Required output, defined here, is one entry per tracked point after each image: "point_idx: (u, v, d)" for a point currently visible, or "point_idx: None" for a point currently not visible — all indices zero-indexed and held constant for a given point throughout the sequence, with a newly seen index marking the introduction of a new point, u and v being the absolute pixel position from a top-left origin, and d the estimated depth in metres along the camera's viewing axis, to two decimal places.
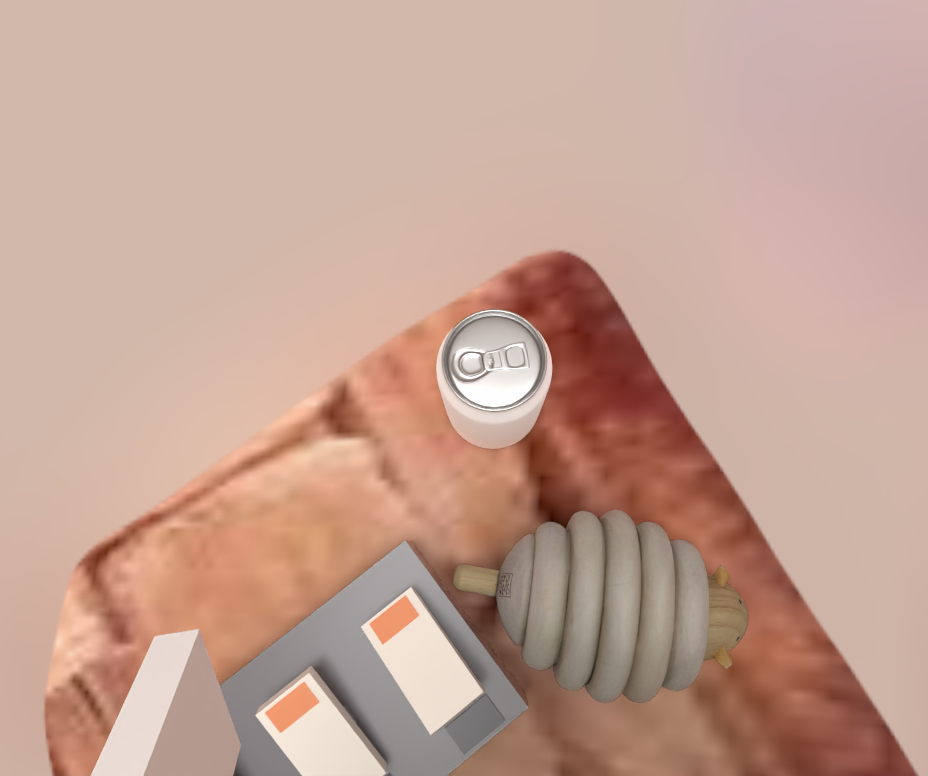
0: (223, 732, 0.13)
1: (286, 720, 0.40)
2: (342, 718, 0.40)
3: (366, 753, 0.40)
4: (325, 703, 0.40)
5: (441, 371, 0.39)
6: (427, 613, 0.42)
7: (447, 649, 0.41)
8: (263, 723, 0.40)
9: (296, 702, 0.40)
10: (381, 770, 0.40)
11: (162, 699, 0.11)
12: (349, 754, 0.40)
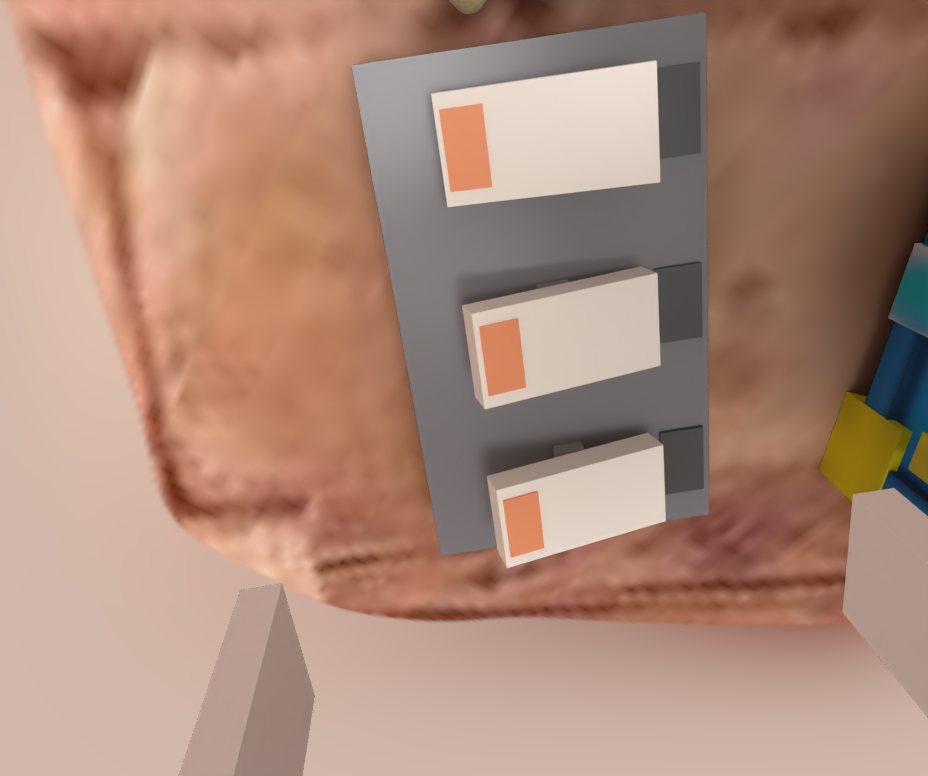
0: (303, 681, 0.13)
1: (515, 372, 0.26)
2: (557, 296, 0.25)
3: (618, 286, 0.26)
4: (524, 311, 0.25)
5: None
6: (486, 87, 0.23)
7: (559, 85, 0.23)
8: (500, 403, 0.26)
9: (500, 349, 0.25)
10: (650, 277, 0.26)
11: (257, 644, 0.12)
12: (605, 310, 0.26)
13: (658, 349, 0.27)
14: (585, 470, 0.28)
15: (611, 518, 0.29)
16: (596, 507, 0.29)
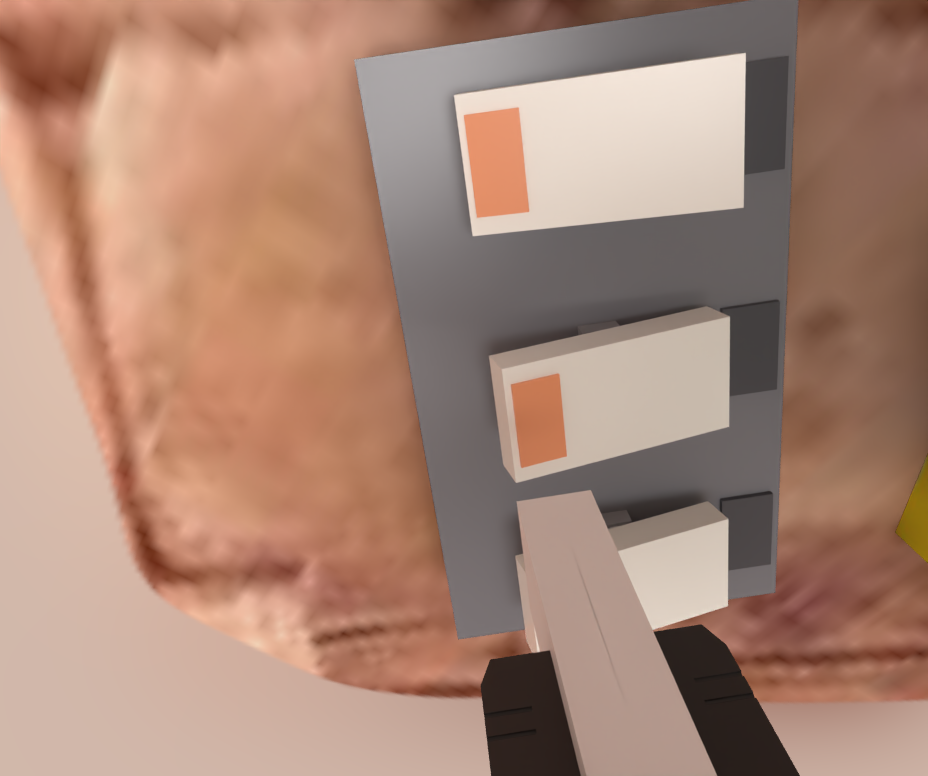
0: None
1: (554, 439, 0.21)
2: (607, 346, 0.20)
3: (682, 332, 0.21)
4: (567, 365, 0.20)
5: None
6: (524, 87, 0.18)
7: (618, 84, 0.18)
8: (535, 475, 0.21)
9: (536, 411, 0.20)
10: (721, 322, 0.21)
11: (560, 540, 0.13)
12: (665, 362, 0.21)
13: (727, 407, 0.22)
14: (635, 551, 0.23)
15: (664, 605, 0.24)
16: (647, 592, 0.24)
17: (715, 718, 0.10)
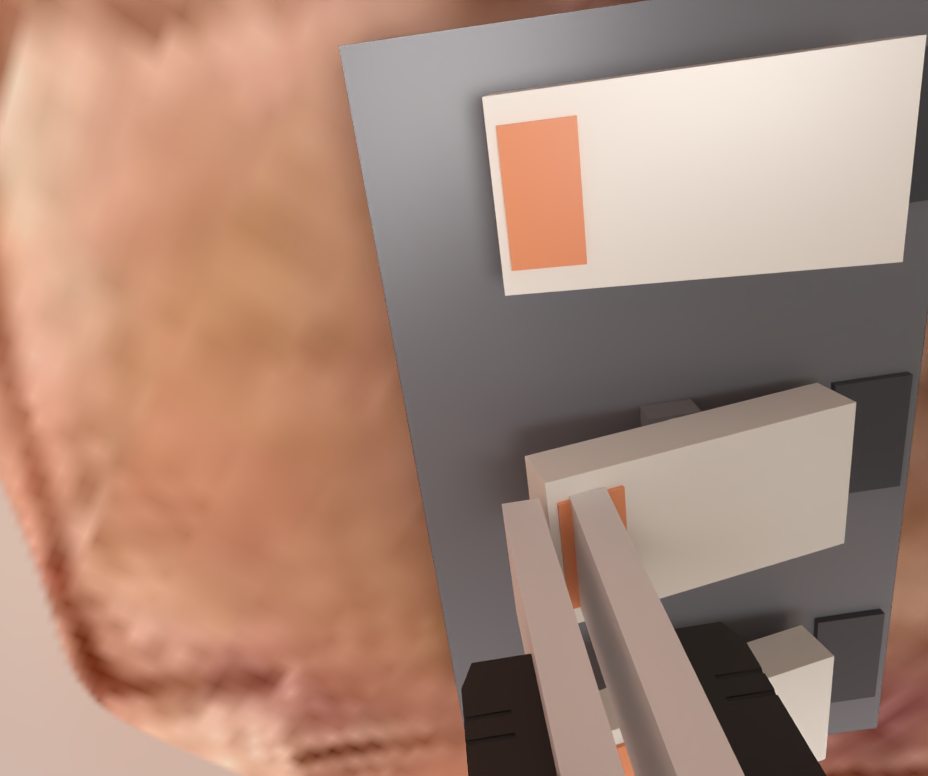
0: None
1: None
2: (690, 448, 0.15)
3: (792, 426, 0.15)
4: (635, 474, 0.15)
5: None
6: (586, 86, 0.12)
7: (727, 81, 0.12)
8: None
9: None
10: (843, 410, 0.15)
11: (543, 542, 0.13)
12: (766, 465, 0.15)
13: (843, 519, 0.17)
14: None
15: None
16: None
17: (738, 714, 0.10)
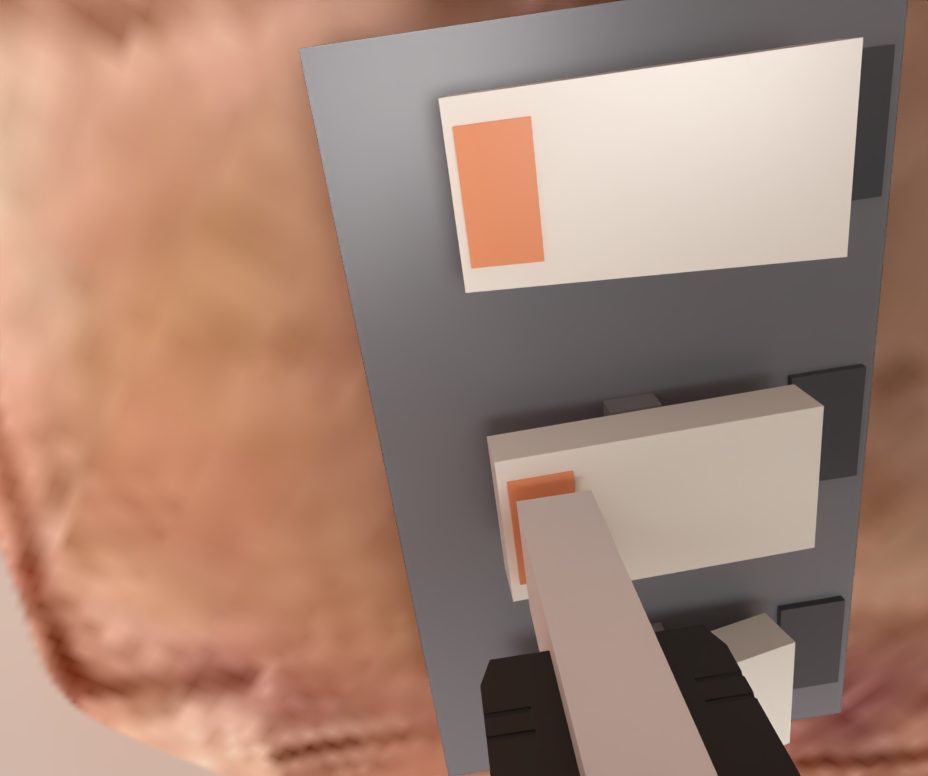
0: None
1: None
2: (643, 439, 0.15)
3: (752, 425, 0.15)
4: (585, 461, 0.15)
5: None
6: (539, 88, 0.13)
7: (674, 83, 0.12)
8: None
9: None
10: (810, 413, 0.15)
11: (560, 540, 0.13)
12: (725, 462, 0.16)
13: (813, 523, 0.16)
14: None
15: None
16: None
17: (716, 718, 0.10)
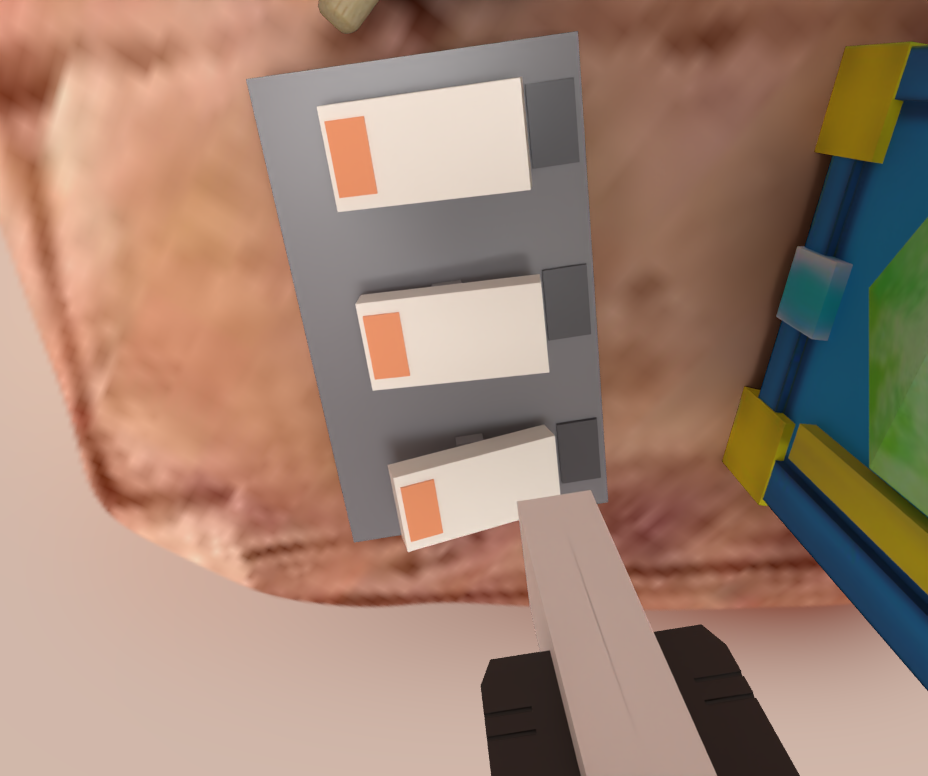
0: None
1: (398, 361, 0.28)
2: (437, 296, 0.27)
3: (500, 291, 0.27)
4: (406, 306, 0.27)
5: None
6: (367, 101, 0.25)
7: (433, 99, 0.24)
8: (387, 387, 0.29)
9: (383, 338, 0.28)
10: (534, 286, 0.27)
11: (560, 540, 0.13)
12: (487, 313, 0.27)
13: (546, 356, 0.28)
14: (479, 459, 0.30)
15: (508, 505, 0.31)
16: (492, 494, 0.31)
17: (716, 718, 0.10)
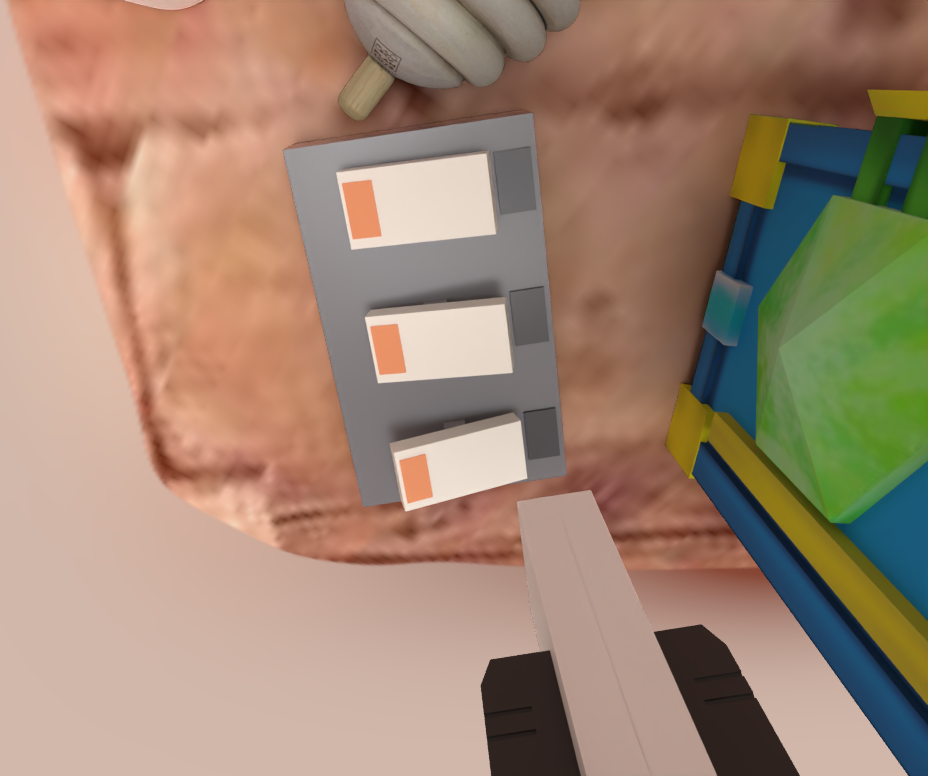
0: None
1: (397, 361, 0.37)
2: (426, 312, 0.36)
3: (473, 310, 0.35)
4: (402, 320, 0.36)
5: None
6: (373, 169, 0.33)
7: (422, 168, 0.33)
8: (389, 381, 0.37)
9: (385, 343, 0.37)
10: (499, 307, 0.35)
11: (560, 540, 0.13)
12: (464, 326, 0.36)
13: (510, 360, 0.36)
14: (461, 439, 0.38)
15: (484, 475, 0.40)
16: (471, 466, 0.39)
17: (716, 718, 0.10)
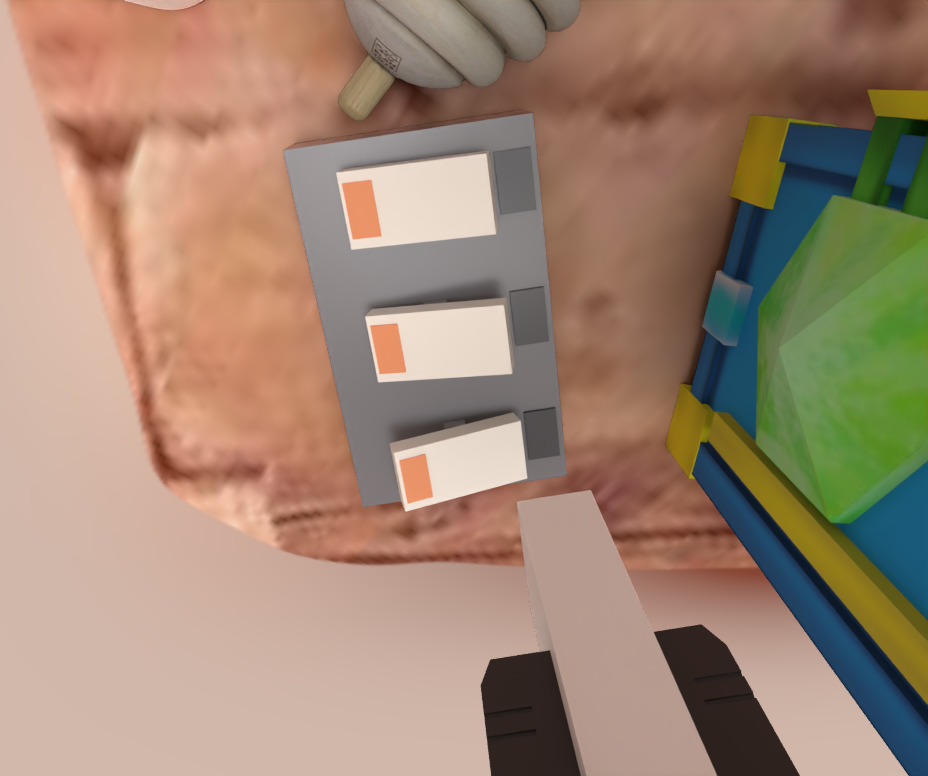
0: None
1: (397, 360, 0.37)
2: (426, 312, 0.36)
3: (473, 311, 0.35)
4: (402, 319, 0.36)
5: None
6: (373, 169, 0.33)
7: (422, 168, 0.33)
8: (389, 380, 0.38)
9: (385, 343, 0.37)
10: (498, 308, 0.35)
11: (560, 539, 0.13)
12: (463, 327, 0.36)
13: (509, 361, 0.36)
14: (461, 439, 0.38)
15: (484, 475, 0.40)
16: (471, 466, 0.39)
17: (716, 718, 0.10)
